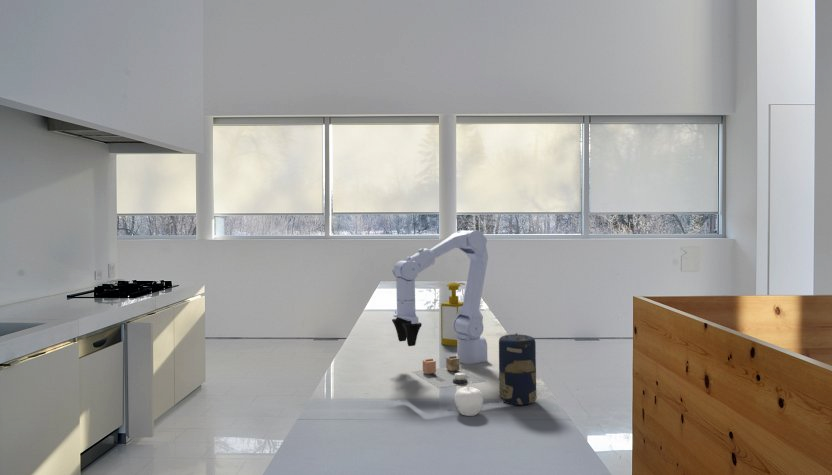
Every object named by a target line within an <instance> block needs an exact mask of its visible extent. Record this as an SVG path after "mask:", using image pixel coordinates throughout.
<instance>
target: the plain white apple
mask: <svg viewBox="0 0 832 475" xmlns="http://www.w3.org/2000/svg"><path fill="white" fill-rule="evenodd" d="M472 384H473V383H472V382H470V384H468V386H465V387H461V388H459V389H457V391H456V392H455V394H454V403H455V406H456V408H457V410H458V412H459V414H460V415H462V416H468V417H474V416H476V415H478V413H479V412H480V410H481V409H482V406H483V404H484V395H483V393H482V391H481V390H480V389H478V388H476V387H472V386H471V385H472Z"/></svg>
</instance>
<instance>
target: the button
mask: <svg viewBox="0 0 832 475" xmlns="http://www.w3.org/2000/svg"><path fill="white" fill-rule="evenodd" d="M455 380H465V373H455Z"/></svg>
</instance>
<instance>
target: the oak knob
mask: <svg viewBox="0 0 832 475" xmlns="http://www.w3.org/2000/svg"><path fill="white" fill-rule="evenodd" d="M445 362H446V365H445V368H446V369H448V370H450V371H454V370H459V368H460V363H459V358H457V355H452V356H448V357H445Z"/></svg>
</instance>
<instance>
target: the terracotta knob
mask: <svg viewBox="0 0 832 475" xmlns="http://www.w3.org/2000/svg"><path fill="white" fill-rule="evenodd" d="M436 365H437V361H436V360H435V359H434V358H427V359H426V358H425V359H423V360H422V371H423V372H424V373H426V374H431V373H436V369H437V366H436Z"/></svg>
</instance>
